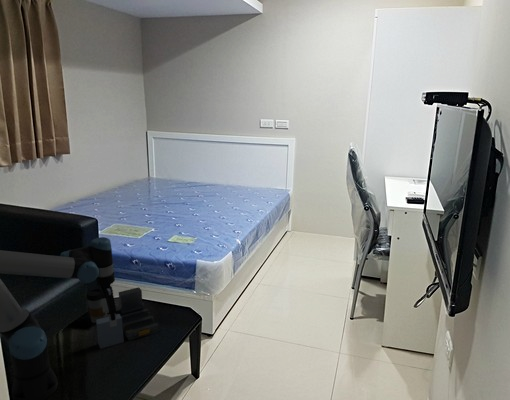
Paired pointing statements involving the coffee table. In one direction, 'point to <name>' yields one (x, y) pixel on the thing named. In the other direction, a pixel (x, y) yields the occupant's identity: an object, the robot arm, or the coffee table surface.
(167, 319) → the coffee table surface
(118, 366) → the coffee table surface
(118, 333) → the gray rectangular block
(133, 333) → the rack
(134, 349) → the coffee table surface
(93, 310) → the coffee cup
